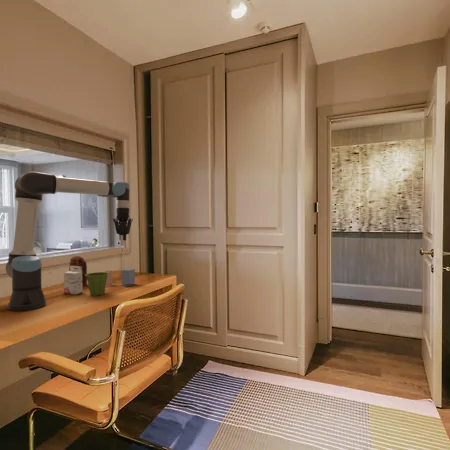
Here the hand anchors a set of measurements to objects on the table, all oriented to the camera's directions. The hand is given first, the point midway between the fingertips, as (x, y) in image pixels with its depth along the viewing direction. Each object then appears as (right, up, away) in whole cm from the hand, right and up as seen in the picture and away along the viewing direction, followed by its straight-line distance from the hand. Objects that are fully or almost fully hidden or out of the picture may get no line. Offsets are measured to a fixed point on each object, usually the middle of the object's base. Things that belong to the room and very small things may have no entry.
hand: (122, 245), depth 191 cm
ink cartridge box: (-22, -25, -18) cm, 38 cm away
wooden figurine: (-29, -25, +1) cm, 38 cm away
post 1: (-9, -25, +1) cm, 26 cm away
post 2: (+3, -25, +2) cm, 25 cm away
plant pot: (-7, -26, -22) cm, 34 cm away
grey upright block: (+3, -24, +2) cm, 24 cm away
